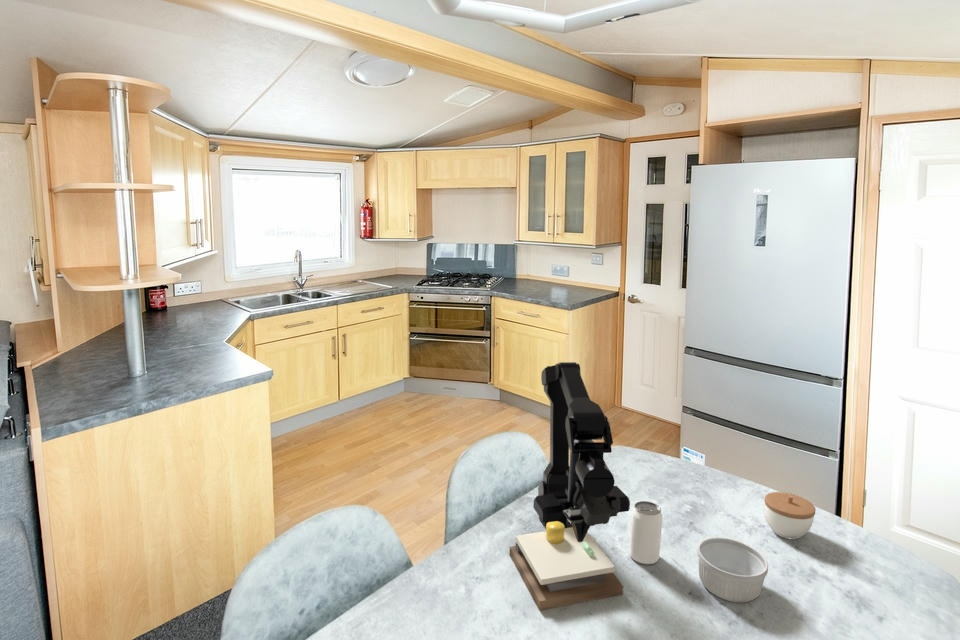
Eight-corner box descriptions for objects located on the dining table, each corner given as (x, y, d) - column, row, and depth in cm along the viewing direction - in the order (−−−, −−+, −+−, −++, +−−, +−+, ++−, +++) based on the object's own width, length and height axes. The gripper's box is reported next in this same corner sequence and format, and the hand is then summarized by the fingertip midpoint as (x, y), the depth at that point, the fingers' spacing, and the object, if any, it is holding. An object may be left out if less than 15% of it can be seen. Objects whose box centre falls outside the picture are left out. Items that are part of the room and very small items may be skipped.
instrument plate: (515, 540, 123) (516, 523, 122) (581, 530, 127) (582, 513, 126) (540, 585, 109) (541, 566, 108) (614, 571, 113) (615, 553, 112)
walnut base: (509, 554, 125) (509, 539, 124) (582, 543, 129) (583, 528, 129) (539, 610, 108) (539, 593, 107) (622, 594, 112) (623, 578, 112)
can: (660, 567, 121) (664, 517, 119) (629, 563, 122) (633, 513, 120) (657, 549, 127) (661, 501, 125) (627, 546, 128) (631, 498, 126)
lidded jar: (798, 521, 140) (803, 487, 138) (819, 546, 129) (825, 510, 128) (754, 518, 141) (758, 484, 139) (771, 543, 130) (776, 506, 129)
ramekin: (759, 573, 120) (763, 544, 118) (769, 615, 108) (773, 583, 106) (694, 560, 124) (696, 531, 123) (695, 598, 112) (699, 567, 110)
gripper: (555, 497, 100) (551, 573, 104) (647, 485, 105) (641, 558, 108) (533, 468, 111) (531, 538, 114) (618, 458, 116) (613, 526, 119)
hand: (579, 541), depth 114 cm, fingers closed
